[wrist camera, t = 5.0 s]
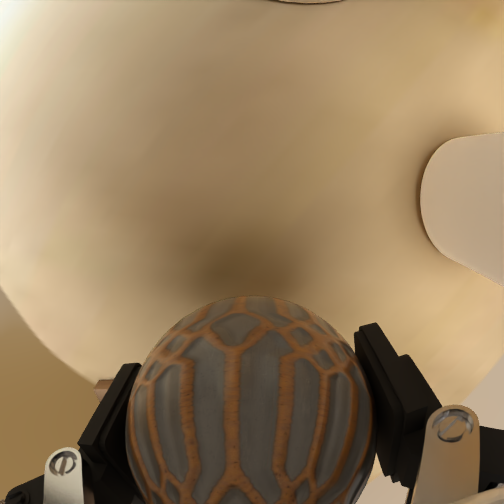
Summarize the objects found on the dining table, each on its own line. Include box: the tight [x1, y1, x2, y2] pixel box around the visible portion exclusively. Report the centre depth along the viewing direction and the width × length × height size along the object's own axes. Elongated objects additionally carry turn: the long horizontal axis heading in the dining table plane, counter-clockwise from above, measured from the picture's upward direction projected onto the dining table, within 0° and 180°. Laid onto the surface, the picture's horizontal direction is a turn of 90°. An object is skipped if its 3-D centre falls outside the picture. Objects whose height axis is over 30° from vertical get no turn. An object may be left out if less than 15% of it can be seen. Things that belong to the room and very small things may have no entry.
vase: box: [125, 296, 378, 504], centre depth 7 cm, size 7×7×9 cm
